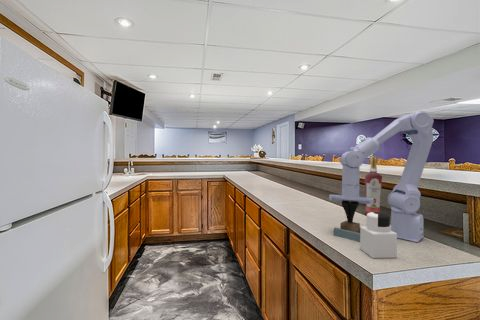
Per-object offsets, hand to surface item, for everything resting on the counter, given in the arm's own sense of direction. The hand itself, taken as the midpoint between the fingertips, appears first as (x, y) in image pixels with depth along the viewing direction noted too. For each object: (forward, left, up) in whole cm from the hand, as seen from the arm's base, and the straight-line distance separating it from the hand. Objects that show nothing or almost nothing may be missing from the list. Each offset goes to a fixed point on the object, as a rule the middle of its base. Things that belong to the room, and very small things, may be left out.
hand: (350, 221), depth 90 cm
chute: (-1, 0, -5) cm, 5 cm away
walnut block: (0, 0, -5) cm, 5 cm away
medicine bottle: (-13, +10, -5) cm, 17 cm away
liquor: (+6, -37, -5) cm, 38 cm away
